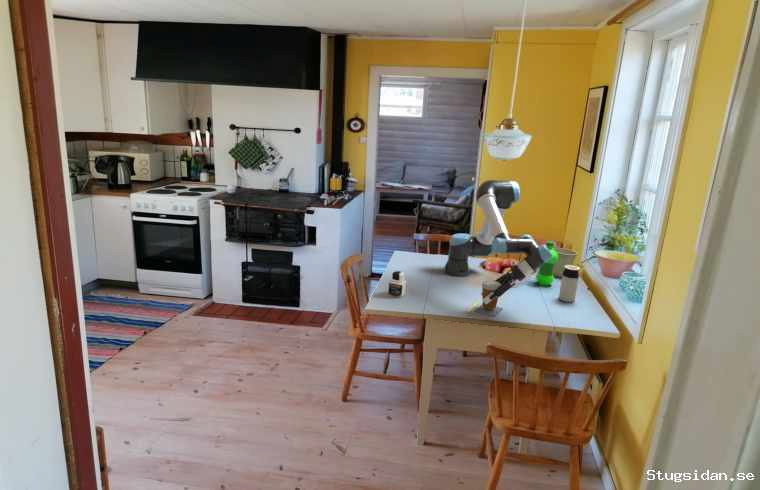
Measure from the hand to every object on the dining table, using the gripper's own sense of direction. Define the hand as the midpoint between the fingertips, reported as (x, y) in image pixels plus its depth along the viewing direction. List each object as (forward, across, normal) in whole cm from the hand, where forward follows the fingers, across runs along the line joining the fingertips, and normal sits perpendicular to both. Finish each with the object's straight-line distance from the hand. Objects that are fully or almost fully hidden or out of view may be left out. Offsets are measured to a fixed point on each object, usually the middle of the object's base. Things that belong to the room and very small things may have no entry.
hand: (483, 298), depth 233 cm
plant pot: (-34, +70, -42) cm, 89 cm away
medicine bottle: (+34, +9, +26) cm, 44 cm away
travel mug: (-29, +27, -37) cm, 54 cm away
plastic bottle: (-24, +50, -32) cm, 64 cm away
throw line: (+7, +2, -1) cm, 7 cm away
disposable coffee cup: (0, 0, -5) cm, 5 cm away
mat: (+2, 0, -6) cm, 7 cm away
